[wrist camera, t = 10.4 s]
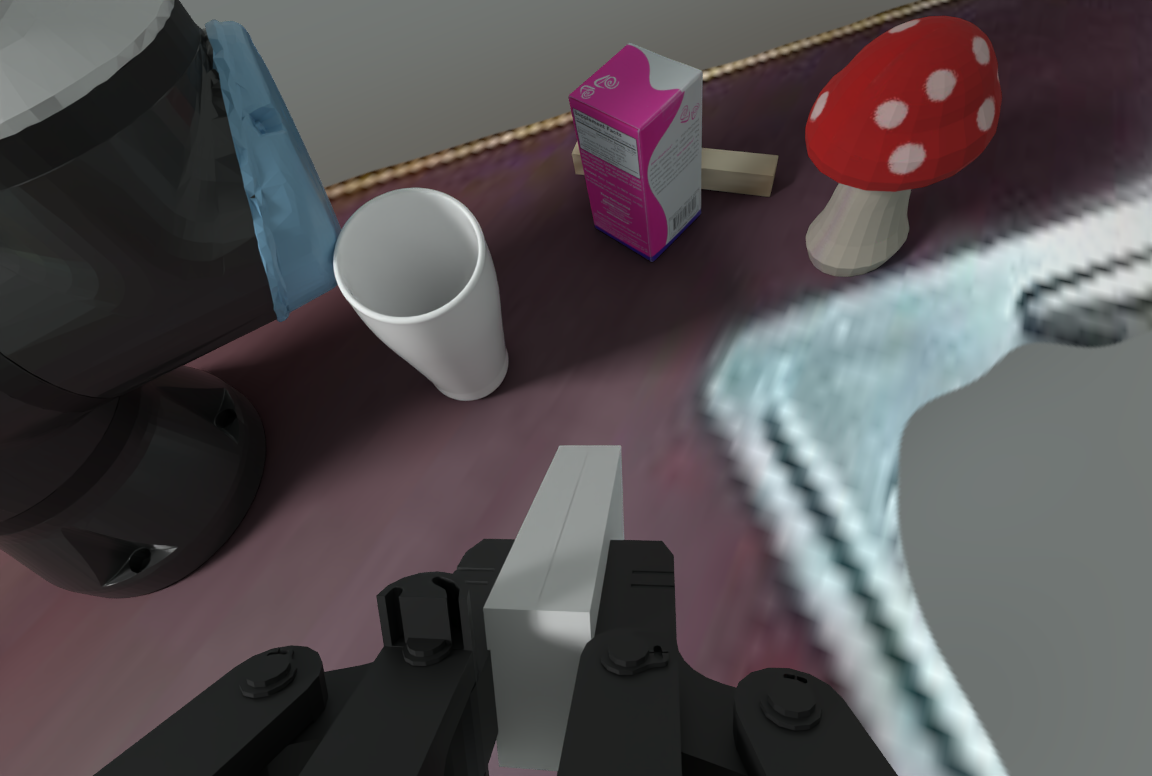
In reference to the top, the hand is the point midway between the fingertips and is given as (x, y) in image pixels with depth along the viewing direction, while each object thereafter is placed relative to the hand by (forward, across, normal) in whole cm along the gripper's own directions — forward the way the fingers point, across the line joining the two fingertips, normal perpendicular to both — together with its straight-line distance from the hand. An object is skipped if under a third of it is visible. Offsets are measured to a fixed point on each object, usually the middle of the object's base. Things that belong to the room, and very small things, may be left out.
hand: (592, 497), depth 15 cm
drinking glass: (+25, -11, -2) cm, 27 cm away
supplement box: (+33, +1, +7) cm, 34 cm away
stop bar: (+36, +3, +10) cm, 37 cm away
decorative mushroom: (+31, +14, +4) cm, 34 cm away
